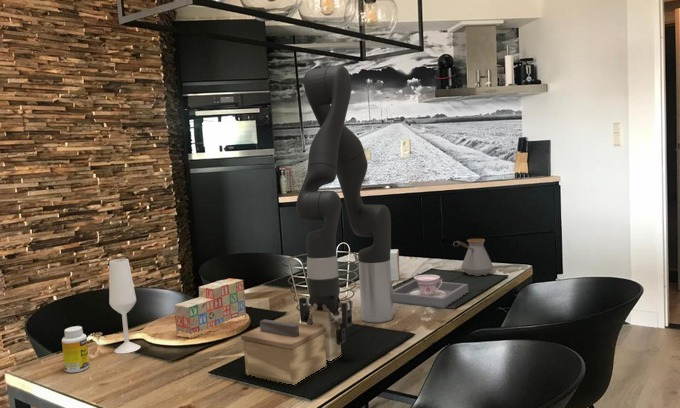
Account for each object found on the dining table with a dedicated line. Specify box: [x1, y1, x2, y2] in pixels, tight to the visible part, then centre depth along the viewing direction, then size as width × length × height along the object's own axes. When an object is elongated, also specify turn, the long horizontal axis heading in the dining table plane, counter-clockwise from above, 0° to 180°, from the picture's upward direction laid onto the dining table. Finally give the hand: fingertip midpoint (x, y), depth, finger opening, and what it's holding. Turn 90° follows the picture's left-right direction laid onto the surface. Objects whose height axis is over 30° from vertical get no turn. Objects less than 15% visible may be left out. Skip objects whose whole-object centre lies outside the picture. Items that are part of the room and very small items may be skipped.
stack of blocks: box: [174, 278, 247, 334], centre depth 169 cm, size 21×6×12 cm, turn 144°
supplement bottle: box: [61, 325, 90, 374], centre depth 141 cm, size 6×6×10 cm
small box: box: [390, 248, 401, 282], centre depth 217 cm, size 8×6×10 cm
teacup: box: [410, 274, 446, 298], centre depth 188 cm, size 12×12×6 cm
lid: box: [240, 319, 326, 349], centre depth 133 cm, size 14×15×3 cm
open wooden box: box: [242, 333, 327, 386], centre depth 133 cm, size 12×14×8 cm
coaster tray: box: [393, 279, 469, 309], centre depth 188 cm, size 19×19×3 cm
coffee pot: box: [452, 238, 494, 277], centre depth 213 cm, size 21×12×15 cm, turn 140°
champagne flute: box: [108, 258, 141, 354], centre depth 154 cm, size 7×7×24 cm
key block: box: [311, 309, 342, 362], centre depth 139 cm, size 4×4×12 cm
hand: (327, 341), depth 139 cm, fingers open, 7 cm apart
